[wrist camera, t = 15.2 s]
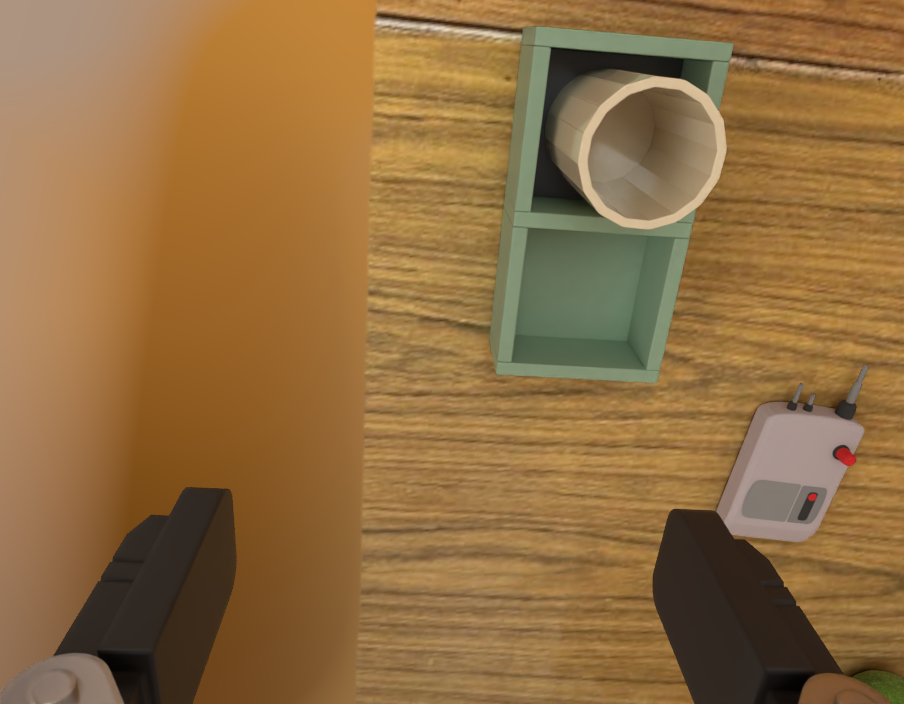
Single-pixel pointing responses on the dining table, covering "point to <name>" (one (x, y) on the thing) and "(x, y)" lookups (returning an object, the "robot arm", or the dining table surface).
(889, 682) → the fruit
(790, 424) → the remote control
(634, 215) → the cup
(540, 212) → the holder
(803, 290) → the dining table surface
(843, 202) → the dining table surface
